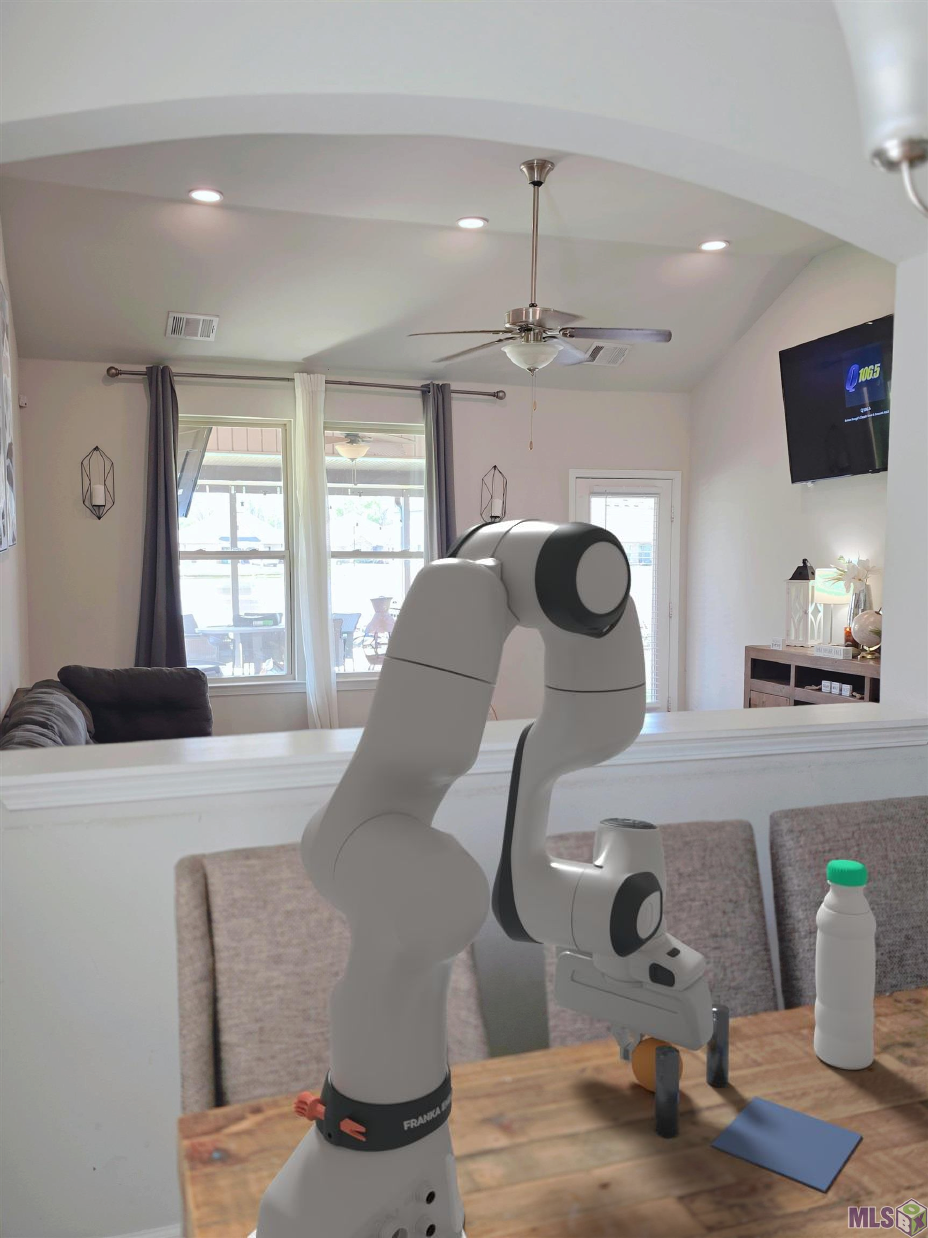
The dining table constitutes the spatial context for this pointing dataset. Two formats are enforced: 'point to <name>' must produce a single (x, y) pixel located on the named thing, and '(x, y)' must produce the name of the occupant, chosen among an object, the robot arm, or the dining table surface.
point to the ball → (648, 1062)
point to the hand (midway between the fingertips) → (629, 1059)
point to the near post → (667, 1091)
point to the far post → (718, 1048)
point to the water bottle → (845, 970)
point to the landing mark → (788, 1143)
